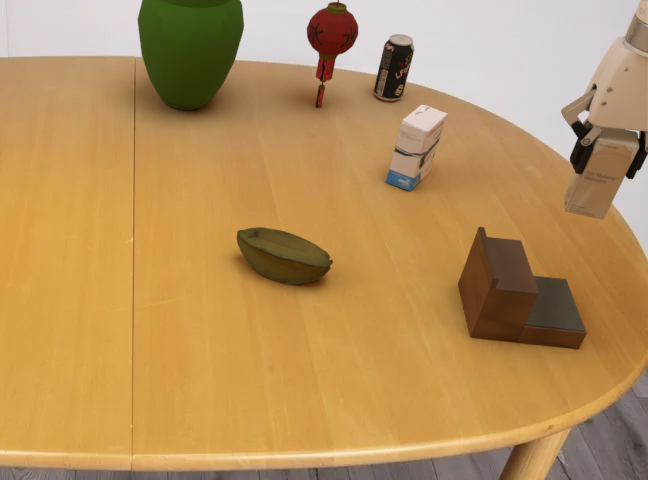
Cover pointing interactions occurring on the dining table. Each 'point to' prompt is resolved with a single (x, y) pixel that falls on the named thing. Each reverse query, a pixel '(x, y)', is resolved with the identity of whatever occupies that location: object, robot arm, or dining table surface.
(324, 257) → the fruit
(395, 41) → the beverage can
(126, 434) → the dining table surface
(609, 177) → the box
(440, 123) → the ink box
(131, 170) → the dining table surface
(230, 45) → the vase
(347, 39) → the lantern
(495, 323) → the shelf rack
